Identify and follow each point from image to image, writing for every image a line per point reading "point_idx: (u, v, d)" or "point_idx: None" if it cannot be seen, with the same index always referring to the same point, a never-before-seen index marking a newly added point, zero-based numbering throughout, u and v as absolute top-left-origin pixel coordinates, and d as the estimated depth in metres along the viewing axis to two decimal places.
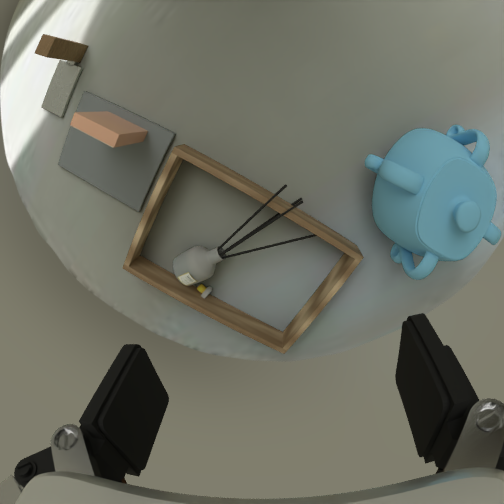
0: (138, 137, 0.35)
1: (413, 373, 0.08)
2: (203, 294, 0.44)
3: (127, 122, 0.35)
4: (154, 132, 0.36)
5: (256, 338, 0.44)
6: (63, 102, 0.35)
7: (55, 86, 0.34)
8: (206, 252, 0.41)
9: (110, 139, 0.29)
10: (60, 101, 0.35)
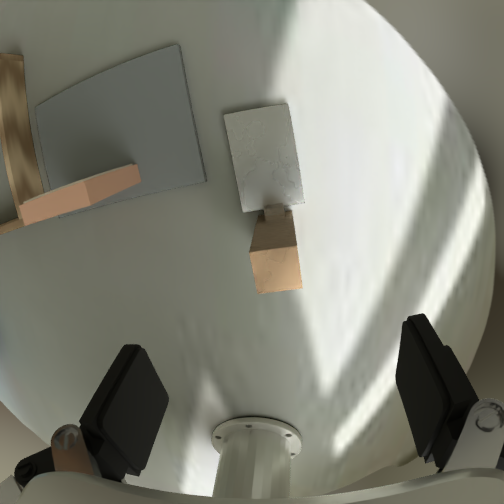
0: None
1: (413, 373, 0.08)
2: None
3: None
4: None
5: None
6: (236, 140, 0.23)
7: (278, 155, 0.23)
8: None
9: (27, 211, 0.18)
10: (244, 137, 0.23)
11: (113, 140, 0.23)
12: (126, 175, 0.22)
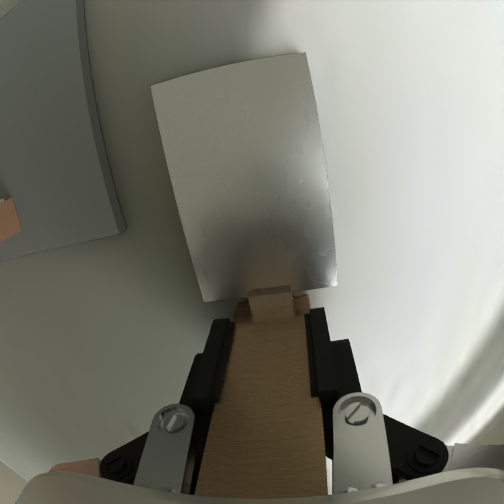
0: None
1: None
2: None
3: None
4: None
5: None
6: (179, 143, 0.09)
7: (281, 179, 0.10)
8: None
9: None
10: (199, 137, 0.09)
11: None
12: None
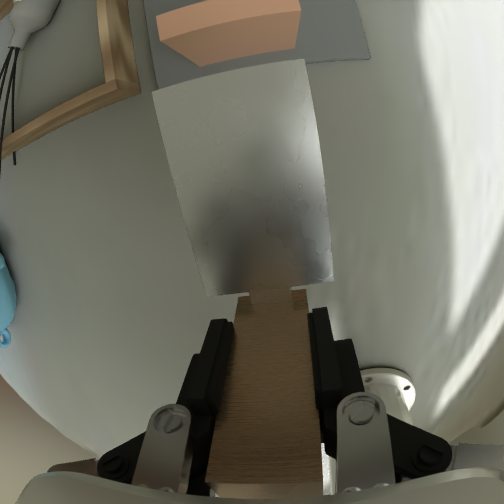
0: None
1: None
2: None
3: (237, 54, 0.18)
4: (187, 72, 0.20)
5: None
6: (181, 148, 0.10)
7: (280, 182, 0.10)
8: (28, 30, 0.16)
9: (172, 21, 0.12)
10: (201, 142, 0.10)
11: None
12: None
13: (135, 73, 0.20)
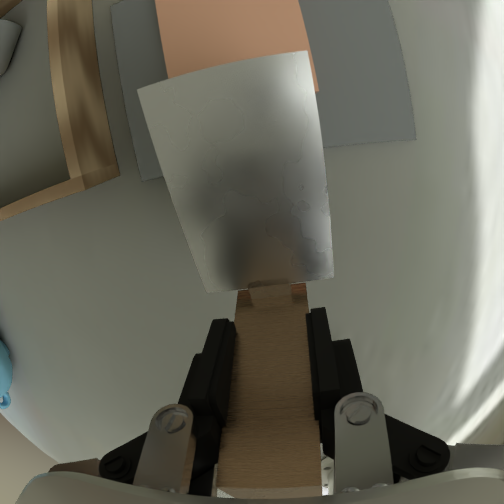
0: None
1: None
2: None
3: None
4: None
5: None
6: (173, 149, 0.09)
7: (279, 183, 0.09)
8: None
9: None
10: (194, 142, 0.09)
11: None
12: None
13: (110, 150, 0.17)
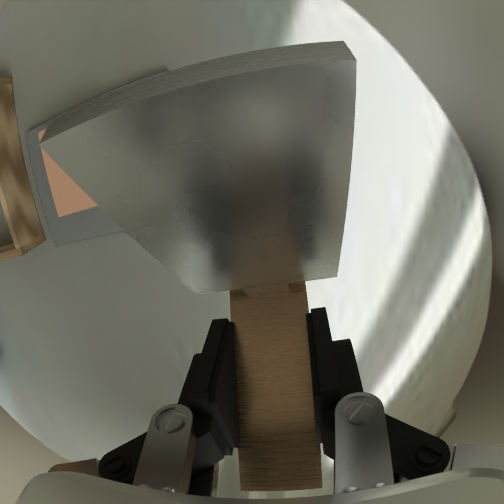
0: None
1: None
2: None
3: (78, 199, 0.23)
4: (68, 232, 0.26)
5: None
6: (124, 204, 0.06)
7: (282, 223, 0.07)
8: None
9: None
10: (152, 195, 0.06)
11: None
12: None
13: (38, 226, 0.26)
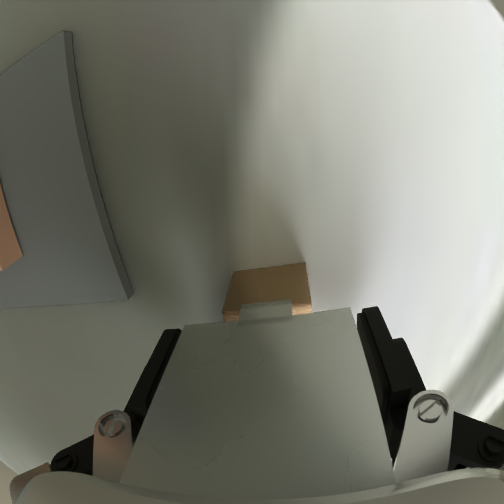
0: None
1: None
2: None
3: None
4: None
5: None
6: None
7: None
8: None
9: None
10: None
11: None
12: None
13: None
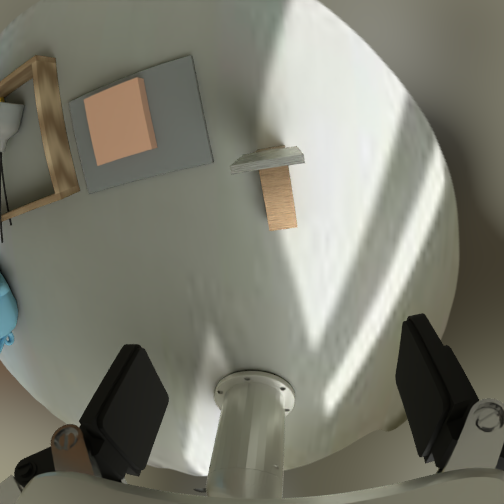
0: None
1: (413, 373, 0.08)
2: None
3: (117, 150, 0.29)
4: (102, 181, 0.33)
5: None
6: None
7: None
8: (5, 139, 0.29)
9: None
10: None
11: None
12: (150, 127, 0.29)
13: (74, 178, 0.33)
